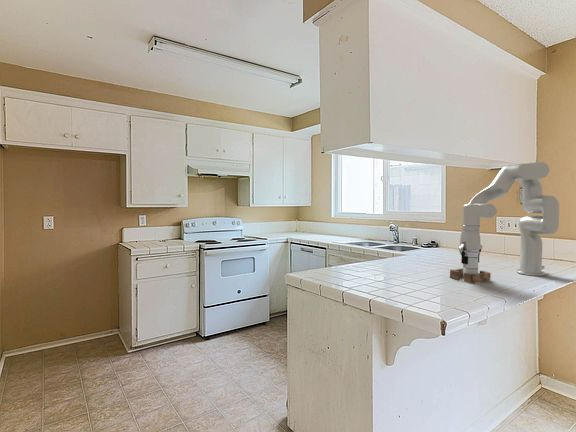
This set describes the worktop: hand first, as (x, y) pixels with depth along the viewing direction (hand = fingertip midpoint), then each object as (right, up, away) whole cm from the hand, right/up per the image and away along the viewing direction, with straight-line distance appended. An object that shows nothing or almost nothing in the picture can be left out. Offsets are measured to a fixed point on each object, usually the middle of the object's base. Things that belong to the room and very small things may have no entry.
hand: (470, 262), depth 167 cm
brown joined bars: (0, -8, 0) cm, 8 cm away
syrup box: (0, -8, 0) cm, 8 cm away
